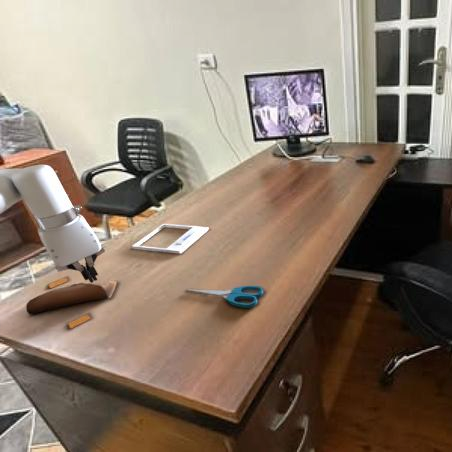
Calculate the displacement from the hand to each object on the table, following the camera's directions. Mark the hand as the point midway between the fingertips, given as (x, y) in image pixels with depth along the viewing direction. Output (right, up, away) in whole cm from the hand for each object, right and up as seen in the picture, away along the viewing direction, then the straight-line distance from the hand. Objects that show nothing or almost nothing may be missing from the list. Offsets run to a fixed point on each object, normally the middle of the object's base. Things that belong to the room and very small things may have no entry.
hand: (92, 279), depth 91 cm
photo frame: (+10, +10, +22) cm, 26 cm away
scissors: (+35, -3, -5) cm, 36 cm away
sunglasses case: (-3, -5, -1) cm, 6 cm away
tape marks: (-5, -5, -2) cm, 7 cm away
